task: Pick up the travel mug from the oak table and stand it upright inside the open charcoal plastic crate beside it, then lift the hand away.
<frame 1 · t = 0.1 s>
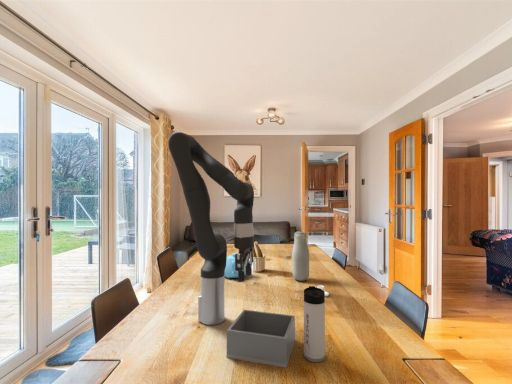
hand: (245, 278, 106), 17 cm above the table, tool pointing down, fingers open, 8 cm apart
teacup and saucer: (317, 296, 137), on the table
grey bottle: (300, 280, 161), on the table
crate: (262, 348, 89), on the table
travel mug: (314, 356, 85), on the table
decorative pot: (235, 276, 170), on the table
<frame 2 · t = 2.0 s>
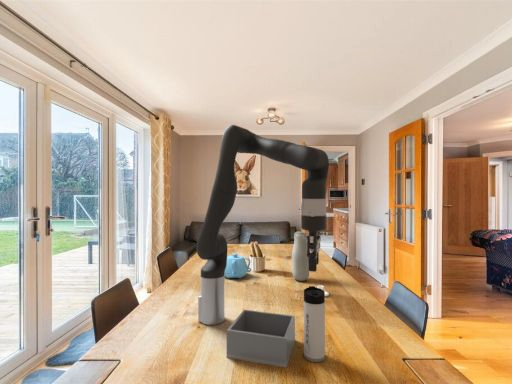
hand: (313, 267, 85), 27 cm above the table, tool pointing down, fingers open, 8 cm apart
nothing on the table moved.
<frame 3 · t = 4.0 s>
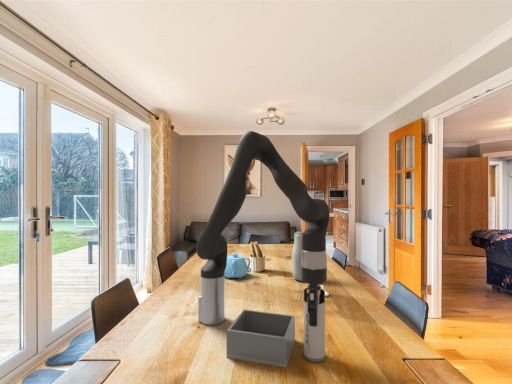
hand: (314, 320, 85), 11 cm above the table, tool pointing down, fingers closed on travel mug, 6 cm apart
travel mug: (314, 356, 85), on the table, touching gripper
everything else where it was.
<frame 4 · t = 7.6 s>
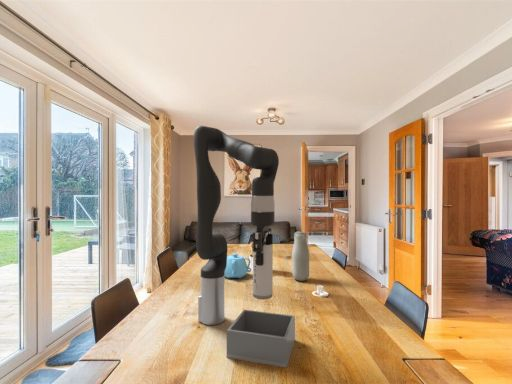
hand: (262, 262, 90), 27 cm above the table, tool pointing down, fingers closed on travel mug, 6 cm apart
travel mug: (262, 296, 90), point 16 cm above the table, touching gripper
everything else where it was.
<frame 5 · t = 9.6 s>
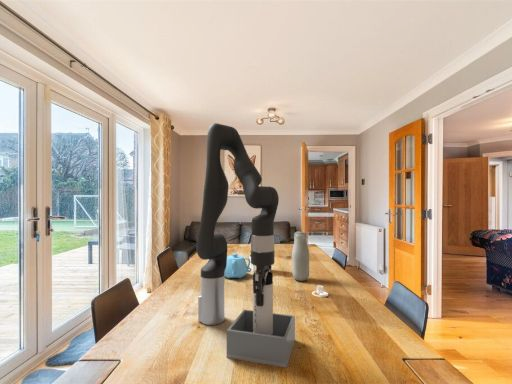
hand: (262, 301, 89), 15 cm above the table, tool pointing down, fingers closed on travel mug, 6 cm apart
travel mug: (262, 335, 89), point 4 cm above the table, touching gripper
everything else where it was.
when the fingers open (13 cm above the table, at t = 11.0 s): travel mug drops 1 cm, resting on crate.
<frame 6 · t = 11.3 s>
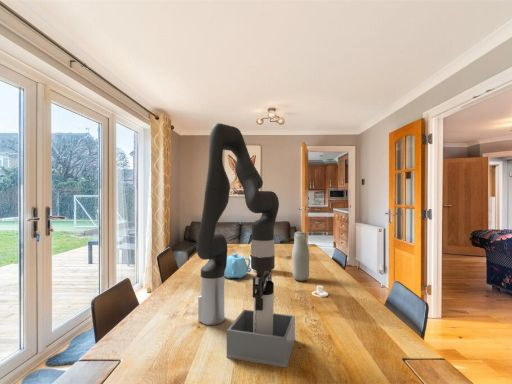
hand: (262, 304, 89), 14 cm above the table, tool pointing down, fingers open, 8 cm apart
travel mug: (262, 344, 89), point 1 cm above the table, touching crate
everything else where it was.
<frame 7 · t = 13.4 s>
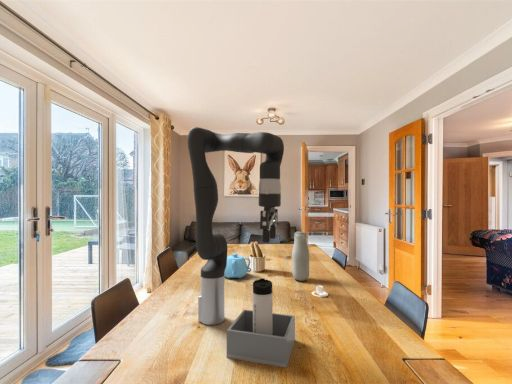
hand: (269, 240, 96), 33 cm above the table, tool pointing down, fingers open, 8 cm apart
nothing on the table moved.
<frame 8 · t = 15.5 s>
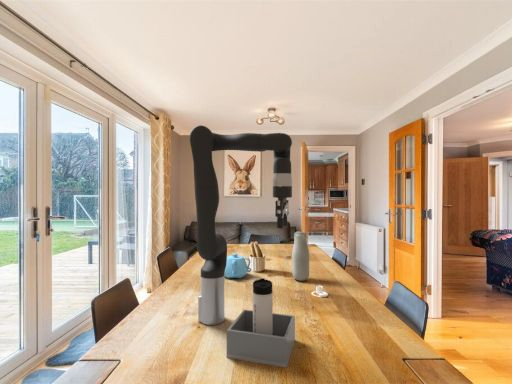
hand: (282, 226, 110), 36 cm above the table, tool pointing down, fingers open, 8 cm apart
nothing on the table moved.
at the end: travel mug inside the target area on the crate (0.2 cm from its centre), point 0.8 cm above the crate's base; travel mug tilted 0°; the gripper is holding nothing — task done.
